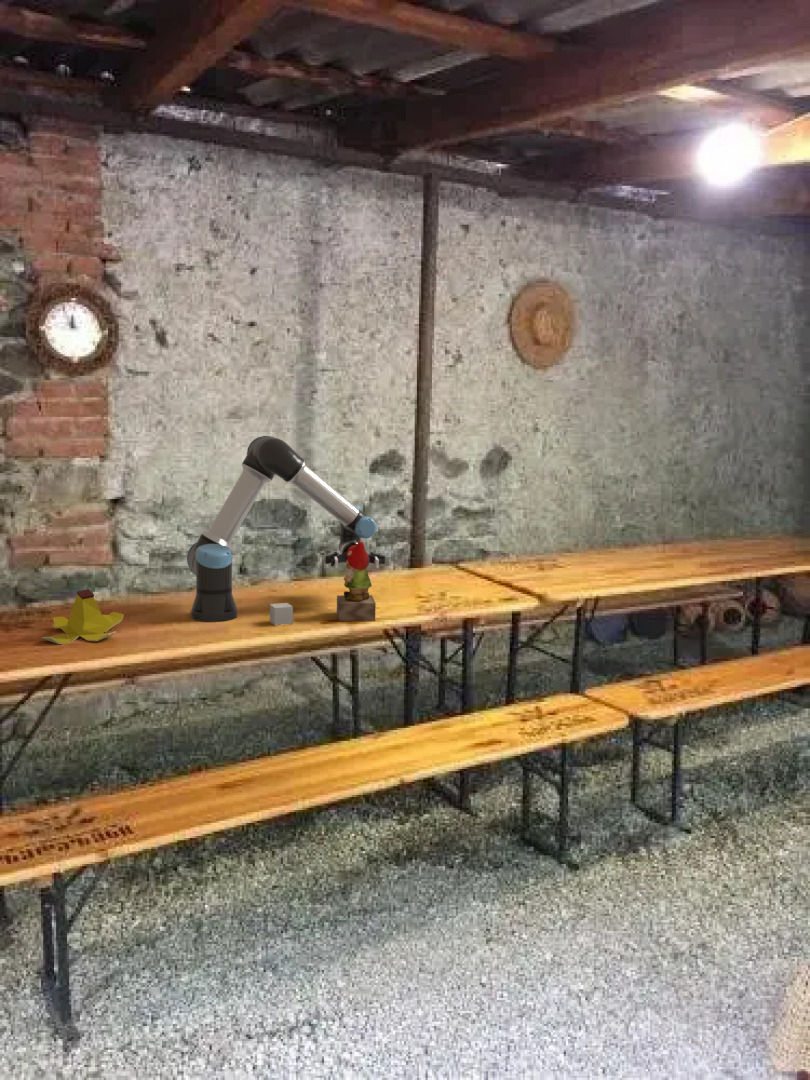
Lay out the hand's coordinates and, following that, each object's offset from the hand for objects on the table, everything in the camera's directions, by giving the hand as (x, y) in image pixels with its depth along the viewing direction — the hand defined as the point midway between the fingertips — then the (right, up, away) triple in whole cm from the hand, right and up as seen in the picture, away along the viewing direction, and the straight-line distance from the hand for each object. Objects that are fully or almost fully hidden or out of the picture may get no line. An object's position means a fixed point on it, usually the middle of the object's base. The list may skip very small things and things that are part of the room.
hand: (357, 564), depth 324 cm
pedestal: (-1, -18, +6) cm, 19 cm away
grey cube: (-25, -19, -5) cm, 32 cm away
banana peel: (-82, -21, -25) cm, 88 cm away
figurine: (-1, -12, +5) cm, 13 cm away
